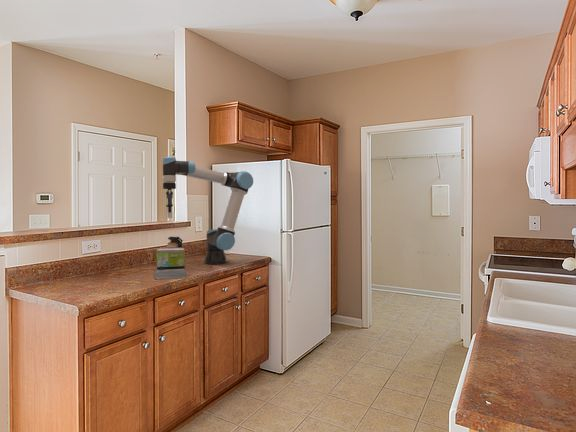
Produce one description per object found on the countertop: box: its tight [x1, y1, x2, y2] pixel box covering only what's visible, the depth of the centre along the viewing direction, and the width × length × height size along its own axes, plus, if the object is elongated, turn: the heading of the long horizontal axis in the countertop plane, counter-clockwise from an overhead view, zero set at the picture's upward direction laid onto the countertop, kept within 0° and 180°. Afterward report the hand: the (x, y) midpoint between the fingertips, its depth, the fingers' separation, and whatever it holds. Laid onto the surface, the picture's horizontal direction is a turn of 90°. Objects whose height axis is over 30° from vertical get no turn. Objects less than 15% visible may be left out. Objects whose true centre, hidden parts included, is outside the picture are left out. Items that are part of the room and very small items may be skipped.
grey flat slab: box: [154, 267, 187, 280], centre depth 226 cm, size 16×15×4 cm
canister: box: [166, 236, 184, 248], centre depth 253 cm, size 9×11×20 cm
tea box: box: [156, 247, 186, 273], centre depth 225 cm, size 15×10×15 cm
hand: (169, 217), depth 241 cm, fingers open, 13 cm apart
